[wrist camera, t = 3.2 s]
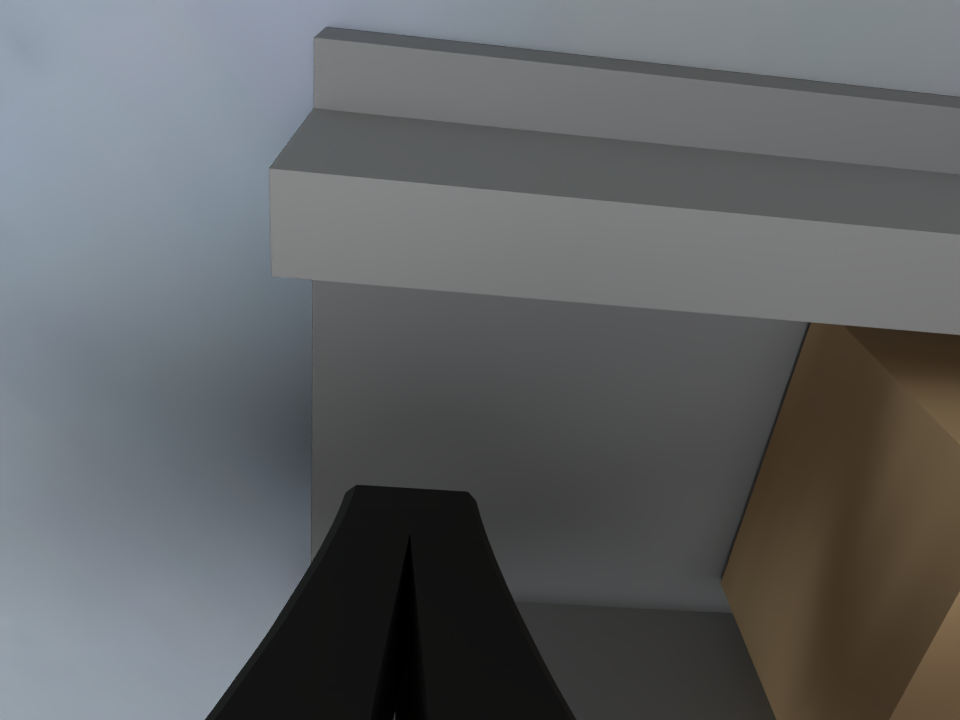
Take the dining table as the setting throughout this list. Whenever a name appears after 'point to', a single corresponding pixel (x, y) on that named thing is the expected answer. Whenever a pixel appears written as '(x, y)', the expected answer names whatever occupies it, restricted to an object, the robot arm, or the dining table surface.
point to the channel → (597, 316)
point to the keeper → (857, 532)
